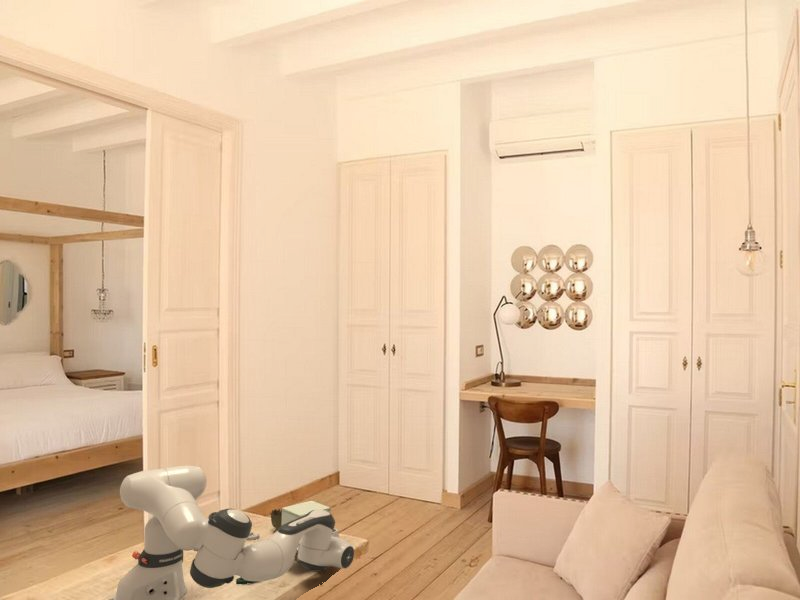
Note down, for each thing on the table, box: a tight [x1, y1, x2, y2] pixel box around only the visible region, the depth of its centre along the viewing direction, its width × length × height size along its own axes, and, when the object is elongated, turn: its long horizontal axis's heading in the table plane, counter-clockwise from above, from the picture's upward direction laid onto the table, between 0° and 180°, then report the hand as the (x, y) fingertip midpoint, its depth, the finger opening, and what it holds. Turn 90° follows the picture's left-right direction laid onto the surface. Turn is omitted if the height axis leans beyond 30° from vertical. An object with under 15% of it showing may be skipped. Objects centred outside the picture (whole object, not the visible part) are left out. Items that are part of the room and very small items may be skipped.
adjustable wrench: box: [193, 531, 260, 552], centre depth 245 cm, size 25×6×2 cm, turn 123°
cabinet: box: [281, 500, 331, 525], centre depth 246 cm, size 15×13×13 cm
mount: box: [235, 576, 260, 585], centre depth 212 cm, size 11×4×5 cm, turn 123°
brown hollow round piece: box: [270, 508, 282, 532], centre depth 258 cm, size 8×7×8 cm
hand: (296, 533), depth 233 cm, fingers open, 5 cm apart
